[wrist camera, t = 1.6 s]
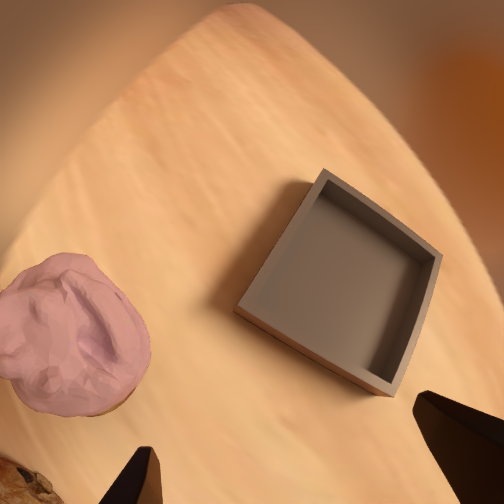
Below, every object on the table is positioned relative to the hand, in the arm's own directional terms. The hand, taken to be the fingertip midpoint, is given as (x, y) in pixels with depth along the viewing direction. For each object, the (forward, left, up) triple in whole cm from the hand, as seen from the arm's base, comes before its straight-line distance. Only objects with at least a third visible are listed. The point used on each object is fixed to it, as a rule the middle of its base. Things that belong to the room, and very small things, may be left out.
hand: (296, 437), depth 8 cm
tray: (+12, -3, -13) cm, 18 cm away
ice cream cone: (-2, +9, -14) cm, 16 cm away
